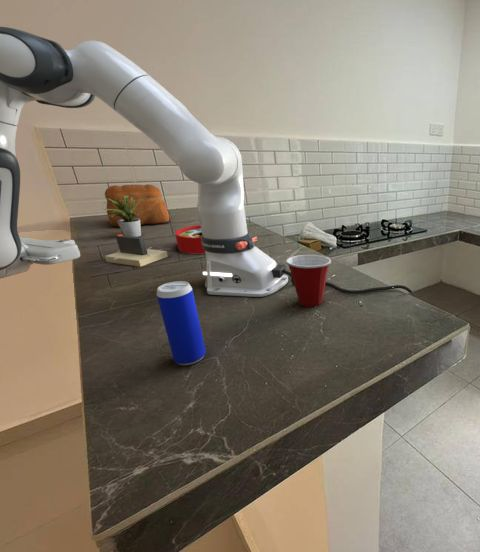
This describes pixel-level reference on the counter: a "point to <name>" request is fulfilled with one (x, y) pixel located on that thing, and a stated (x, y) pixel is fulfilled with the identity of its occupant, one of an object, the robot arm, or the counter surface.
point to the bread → (148, 200)
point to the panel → (136, 257)
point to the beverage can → (181, 322)
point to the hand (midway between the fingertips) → (70, 242)
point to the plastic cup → (309, 277)
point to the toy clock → (190, 240)
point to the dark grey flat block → (131, 244)
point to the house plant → (127, 217)
